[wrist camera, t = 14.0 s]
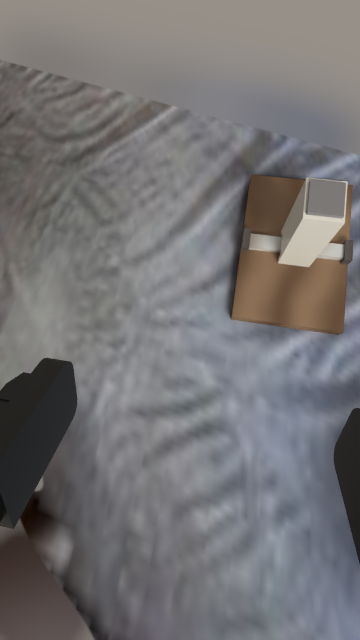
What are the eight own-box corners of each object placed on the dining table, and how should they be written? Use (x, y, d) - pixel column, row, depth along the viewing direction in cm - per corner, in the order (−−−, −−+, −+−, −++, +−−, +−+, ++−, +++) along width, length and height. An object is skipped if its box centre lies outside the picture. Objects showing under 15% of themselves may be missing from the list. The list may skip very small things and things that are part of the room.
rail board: (230, 319, 40) (232, 313, 37) (249, 182, 43) (252, 168, 41) (338, 334, 38) (348, 330, 36) (347, 192, 42) (357, 178, 40)
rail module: (277, 263, 39) (304, 215, 29) (281, 229, 40) (308, 172, 30) (308, 267, 39) (346, 220, 29) (311, 232, 40) (349, 176, 30)
